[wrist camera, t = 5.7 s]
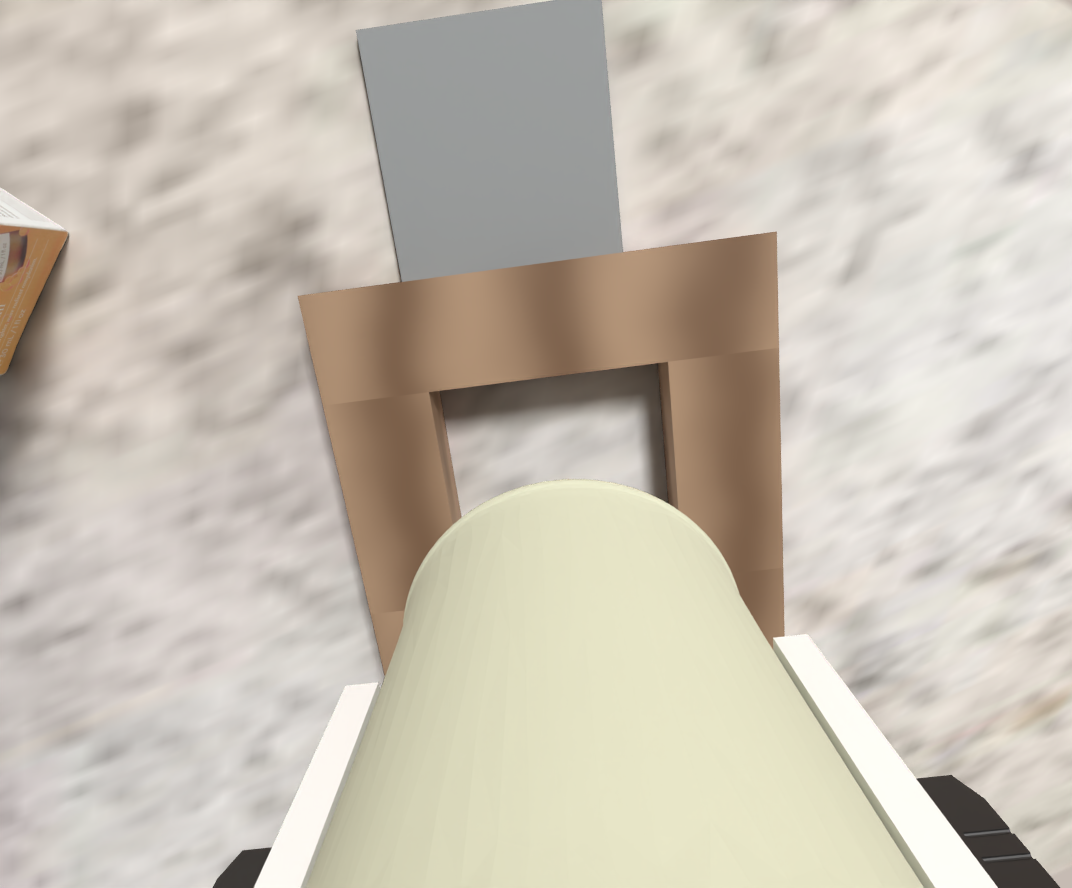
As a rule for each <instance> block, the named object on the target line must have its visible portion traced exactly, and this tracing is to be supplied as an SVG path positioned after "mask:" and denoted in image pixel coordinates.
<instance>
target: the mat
mask: <svg viewBox="0 0 1072 888" xmlns="http://www.w3.org/2000/svg"><path fill="white" fill-rule="evenodd" d="M356 33H357V39H358V44H359V50H360V55H361V61H362V66H363V72H364V77H365V82H366V88H367V93H368V99H369V104H370V110H371V115H372V121H373V126H374V132H375V137H376V143H377V148H378V154H379V159H380V165H381V170H382V176H383V181H384V187H385V192H386V198H387V203H388V208H389V214H390V219H391V225H392V230H393V236H394V241H395V247H396V252H397V258H398V263H399V269H400V274H401V280H402V282H405V281H413V280H420V279H428V278H435V277H443V276H450V275H457V274H465V273H472V272H480V271H487V270H495V269H502V268H510V267H517V266H525V265H532V264H539V263H547V262H554V261H562V260H569V259H577V258H584V257H592V256H599V255H606V254H614V253H621V252H623V247H622V235H621V223H620V212H619V200H618V188H617V176H616V165H615V153H614V141H613V130H612V118H611V106H610V94H609V83H608V71H607V59H606V48H605V36H604V24H603V13H602V1H601V0H553V1H546V2H539V3H533V4H526V5H519V6H513V7H506V8H500V9H493V10H486V11H480V12H473V13H466V14H460V15H453V16H447V17H440V18H433V19H427V20H420V21H413V22H407V23H400V24H393V25H387V26H380V27H374V28H367V29H360V30H356Z"/></svg>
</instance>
